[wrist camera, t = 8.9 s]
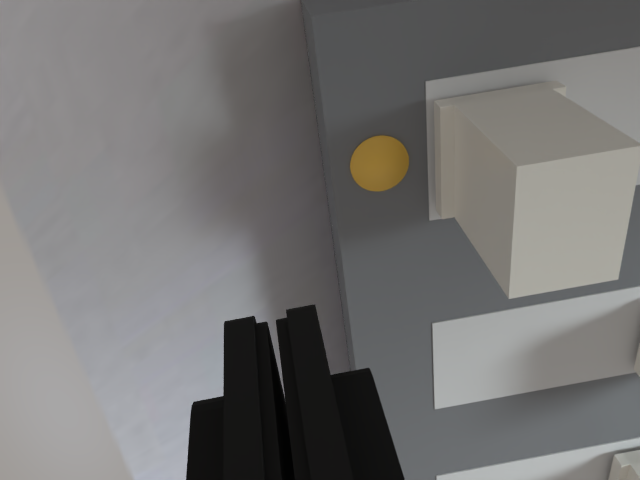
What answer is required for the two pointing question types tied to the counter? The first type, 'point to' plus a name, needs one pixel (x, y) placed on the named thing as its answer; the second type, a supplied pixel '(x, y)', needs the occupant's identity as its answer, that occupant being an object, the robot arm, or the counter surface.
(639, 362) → the block
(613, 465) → the block
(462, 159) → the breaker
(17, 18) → the counter surface
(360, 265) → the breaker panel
